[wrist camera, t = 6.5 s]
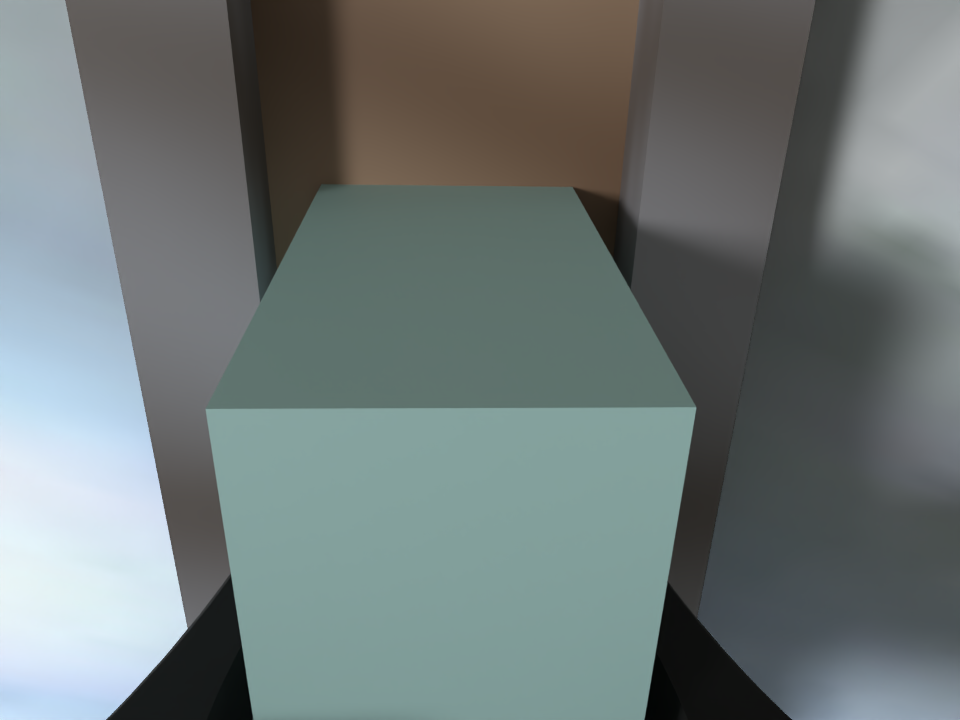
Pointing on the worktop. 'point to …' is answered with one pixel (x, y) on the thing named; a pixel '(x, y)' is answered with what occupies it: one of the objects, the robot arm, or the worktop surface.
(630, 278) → the track
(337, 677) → the green block
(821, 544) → the worktop surface
